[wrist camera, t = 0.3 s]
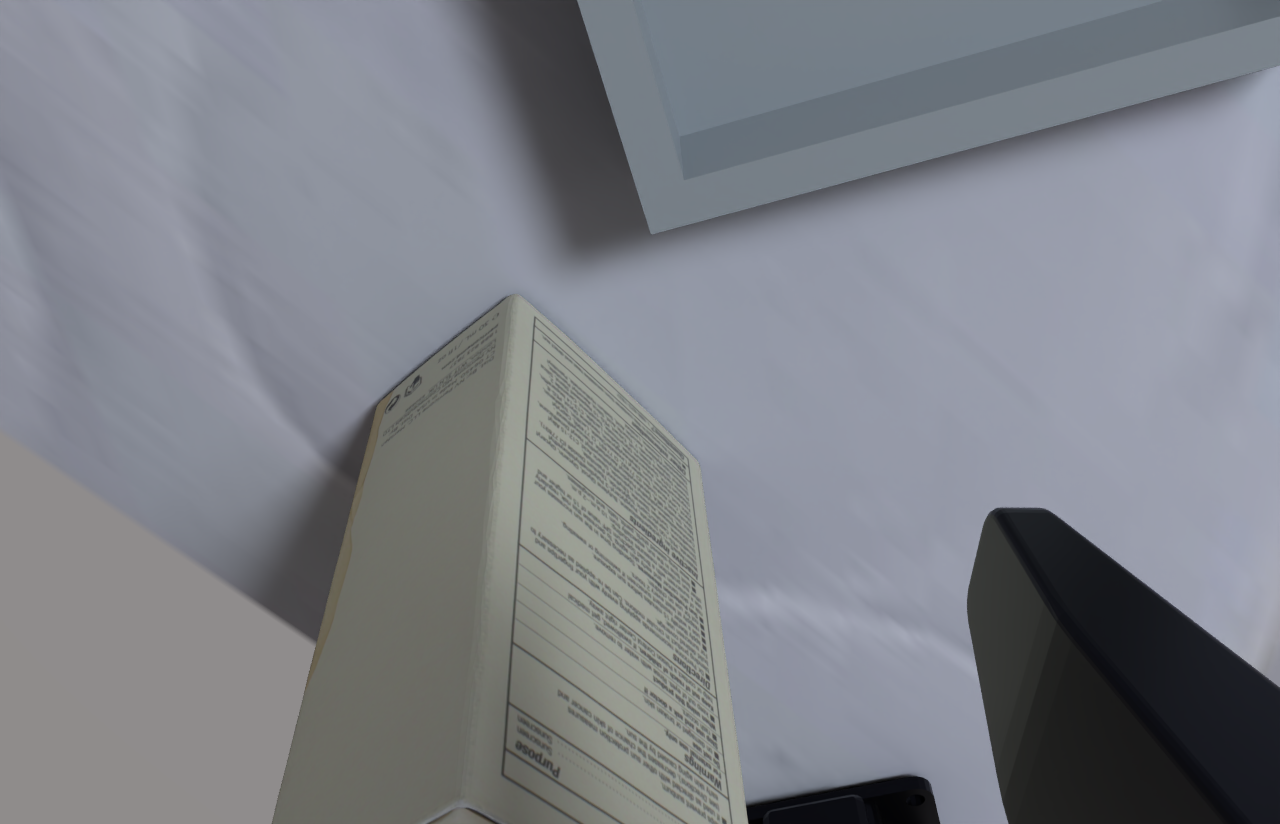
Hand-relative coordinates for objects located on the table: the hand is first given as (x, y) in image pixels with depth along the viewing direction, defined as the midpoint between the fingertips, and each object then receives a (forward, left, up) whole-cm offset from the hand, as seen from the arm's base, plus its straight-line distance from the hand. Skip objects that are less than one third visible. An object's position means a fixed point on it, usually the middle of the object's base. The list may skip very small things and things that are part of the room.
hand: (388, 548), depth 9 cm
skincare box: (-9, +2, -14) cm, 17 cm away
